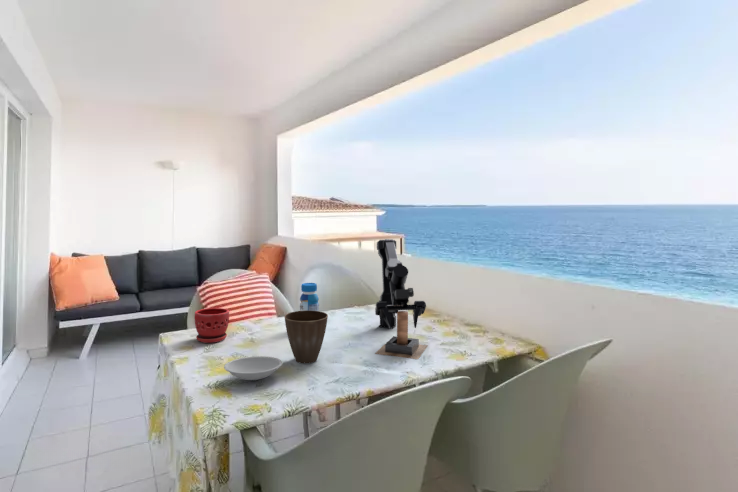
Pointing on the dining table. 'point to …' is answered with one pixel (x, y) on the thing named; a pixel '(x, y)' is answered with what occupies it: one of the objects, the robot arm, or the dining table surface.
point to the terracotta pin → (402, 327)
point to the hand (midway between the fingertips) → (403, 327)
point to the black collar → (402, 346)
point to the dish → (253, 367)
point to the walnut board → (414, 356)
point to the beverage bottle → (309, 297)
